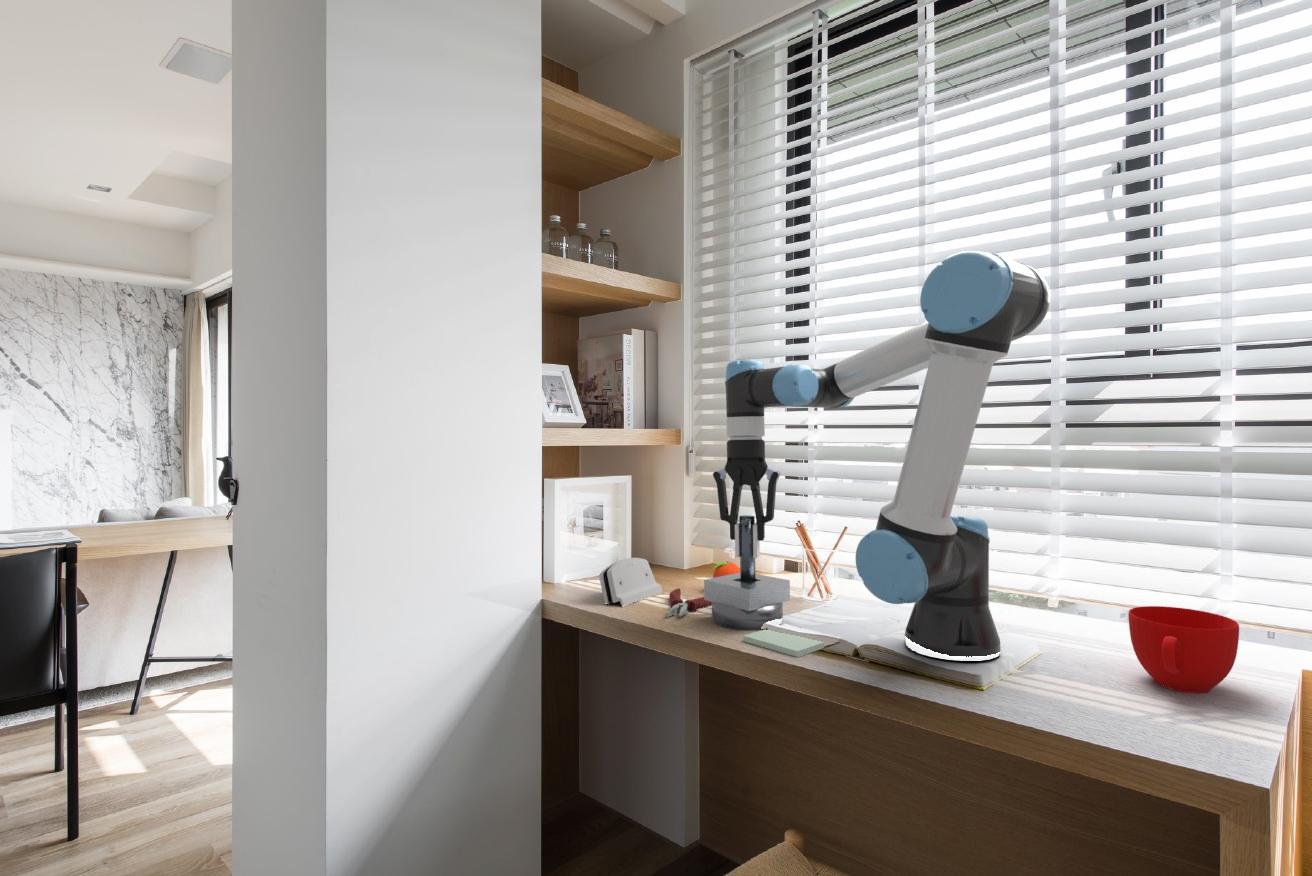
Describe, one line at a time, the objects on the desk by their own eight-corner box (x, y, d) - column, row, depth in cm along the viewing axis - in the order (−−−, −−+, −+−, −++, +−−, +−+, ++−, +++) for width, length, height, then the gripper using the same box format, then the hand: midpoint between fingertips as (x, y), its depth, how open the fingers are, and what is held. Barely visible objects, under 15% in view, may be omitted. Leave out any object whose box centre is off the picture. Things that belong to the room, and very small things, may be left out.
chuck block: (797, 620, 139) (796, 580, 139) (750, 634, 130) (749, 591, 129) (744, 607, 149) (744, 570, 149) (697, 619, 140) (697, 579, 140)
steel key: (752, 585, 136) (751, 518, 136) (737, 584, 137) (736, 517, 137) (758, 578, 142) (757, 514, 142) (744, 578, 143) (742, 514, 143)
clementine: (719, 596, 159) (718, 565, 159) (703, 590, 166) (703, 560, 166) (748, 592, 163) (748, 562, 163) (732, 587, 169) (731, 557, 169)
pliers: (645, 620, 142) (645, 607, 142) (674, 597, 161) (674, 586, 161) (700, 625, 138) (700, 611, 138) (723, 601, 157) (723, 590, 157)
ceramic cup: (1112, 692, 100) (1112, 622, 100) (1139, 664, 112) (1139, 601, 111) (1228, 718, 90) (1228, 641, 90) (1244, 684, 102) (1244, 616, 102)
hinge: (622, 607, 150) (609, 562, 152) (606, 612, 153) (593, 567, 154) (663, 592, 164) (651, 551, 166) (648, 596, 167) (635, 556, 169)
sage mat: (839, 642, 124) (839, 636, 124) (797, 657, 116) (797, 651, 116) (786, 628, 133) (786, 623, 133) (743, 641, 125) (743, 635, 125)
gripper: (788, 437, 140) (790, 555, 140) (711, 439, 145) (713, 552, 145) (783, 438, 133) (785, 561, 133) (701, 439, 138) (703, 558, 138)
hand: (747, 556), depth 139 cm, fingers closed on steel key, 3 cm apart
